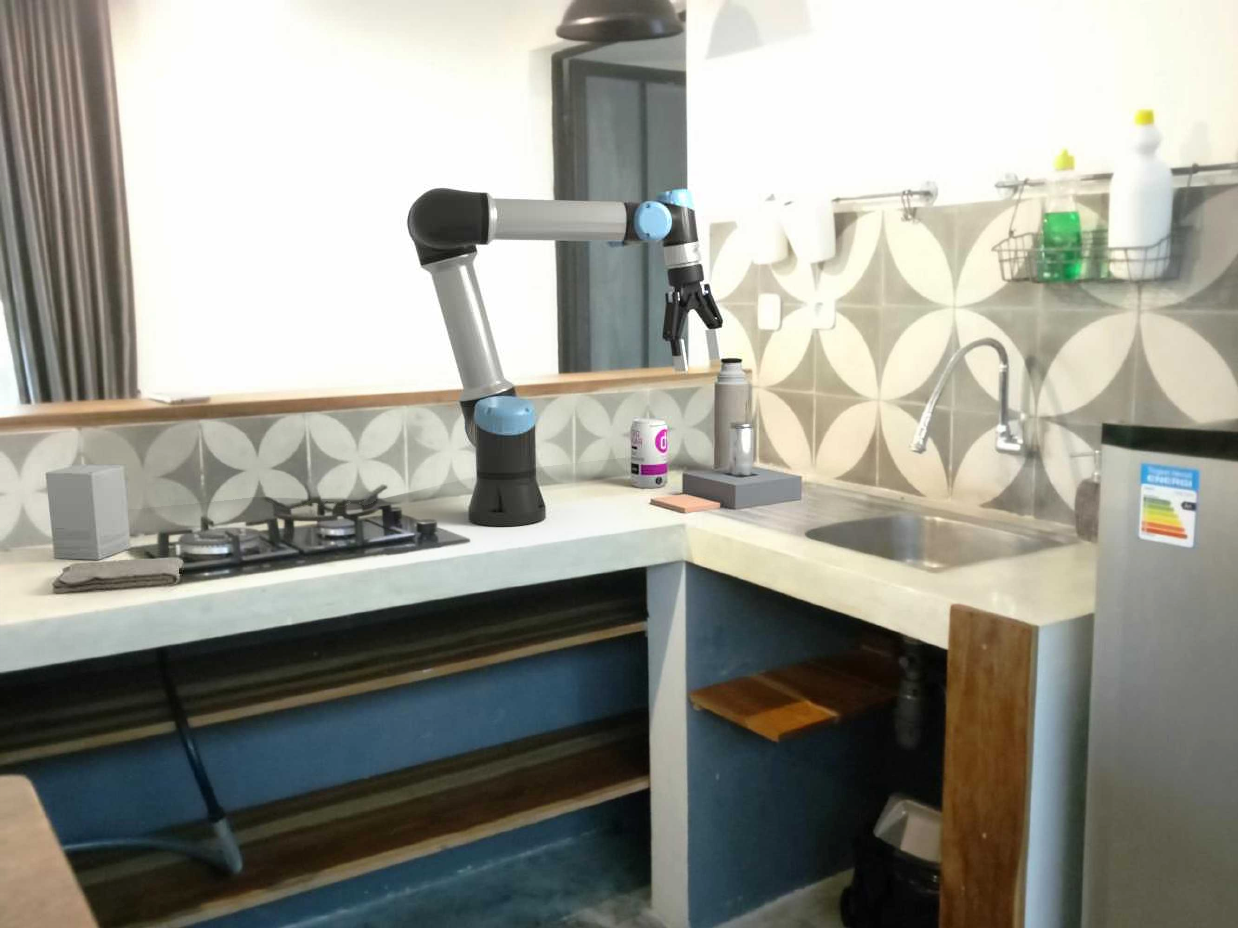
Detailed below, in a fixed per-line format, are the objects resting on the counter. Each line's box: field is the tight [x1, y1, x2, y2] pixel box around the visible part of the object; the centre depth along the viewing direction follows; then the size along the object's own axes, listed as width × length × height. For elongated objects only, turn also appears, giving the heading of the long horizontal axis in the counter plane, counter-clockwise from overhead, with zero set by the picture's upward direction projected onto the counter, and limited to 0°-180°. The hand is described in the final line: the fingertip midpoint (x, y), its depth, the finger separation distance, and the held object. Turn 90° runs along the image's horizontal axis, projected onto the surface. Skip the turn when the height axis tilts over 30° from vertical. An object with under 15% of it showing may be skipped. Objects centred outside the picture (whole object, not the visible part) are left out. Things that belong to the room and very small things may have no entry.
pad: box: [650, 494, 721, 514], centre depth 225 cm, size 9×12×1 cm
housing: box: [681, 465, 803, 510], centre depth 233 cm, size 18×18×5 cm
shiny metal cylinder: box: [730, 421, 755, 478], centre depth 232 cm, size 5×5×16 cm
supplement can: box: [630, 417, 668, 489], centre depth 247 cm, size 8×8×15 cm
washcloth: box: [51, 557, 184, 595], centre depth 171 cm, size 12×18×3 cm, turn 107°
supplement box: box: [45, 464, 132, 561], centre depth 187 cm, size 9×9×15 cm
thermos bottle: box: [713, 357, 750, 469], centre depth 257 cm, size 8×8×28 cm
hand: (699, 365), depth 233 cm, fingers open, 13 cm apart
